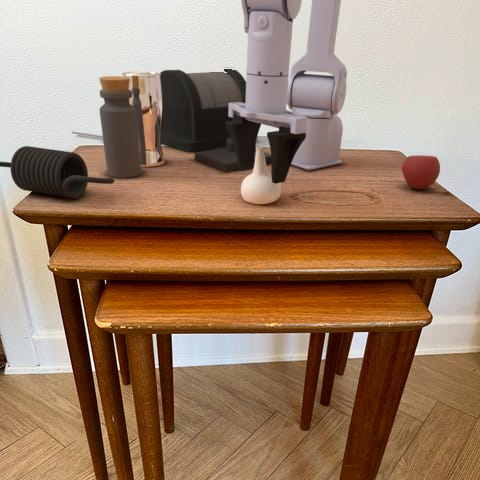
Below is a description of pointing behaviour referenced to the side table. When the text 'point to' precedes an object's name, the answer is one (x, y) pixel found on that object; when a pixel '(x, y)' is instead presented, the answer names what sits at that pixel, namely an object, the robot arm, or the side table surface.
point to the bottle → (119, 128)
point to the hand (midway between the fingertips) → (261, 175)
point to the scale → (224, 157)
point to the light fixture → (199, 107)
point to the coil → (51, 172)
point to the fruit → (421, 171)
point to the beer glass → (148, 114)
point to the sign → (87, 134)
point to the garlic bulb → (260, 183)
